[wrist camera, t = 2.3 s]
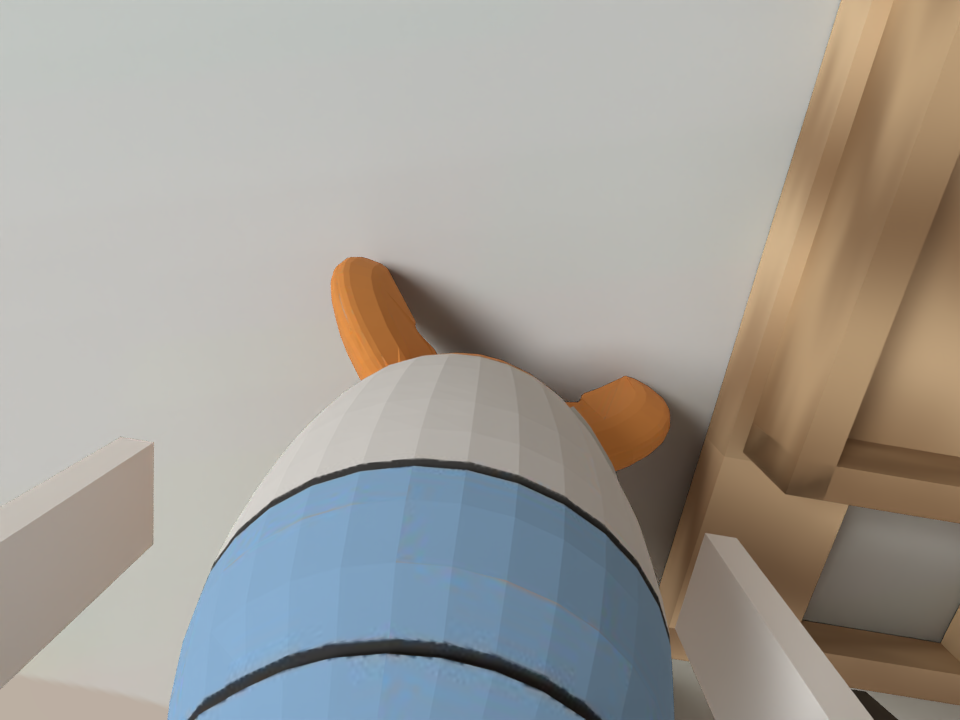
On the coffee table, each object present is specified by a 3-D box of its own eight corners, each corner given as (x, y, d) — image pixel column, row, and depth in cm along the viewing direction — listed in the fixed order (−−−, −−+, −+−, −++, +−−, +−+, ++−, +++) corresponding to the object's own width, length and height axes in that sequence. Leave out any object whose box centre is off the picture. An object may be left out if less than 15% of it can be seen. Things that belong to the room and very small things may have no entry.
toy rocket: (667, 320, 18) (1251, 1054, 4) (514, 528, 22) (580, 1200, 9) (379, 175, 15) (-193, 829, 2) (272, 441, 20) (-121, 1183, 7)
